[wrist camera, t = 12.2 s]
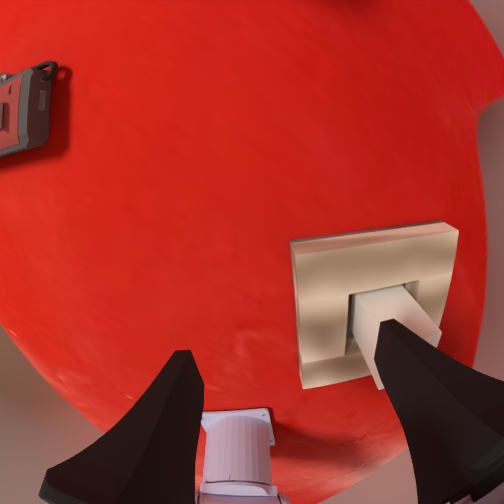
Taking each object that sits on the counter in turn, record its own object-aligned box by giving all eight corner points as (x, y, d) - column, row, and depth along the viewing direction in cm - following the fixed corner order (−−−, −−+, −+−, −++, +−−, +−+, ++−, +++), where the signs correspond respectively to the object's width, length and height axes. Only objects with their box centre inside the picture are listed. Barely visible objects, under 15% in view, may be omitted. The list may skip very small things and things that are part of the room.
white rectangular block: (391, 319, 22) (426, 373, 15) (350, 328, 22) (378, 389, 15) (396, 279, 20) (442, 332, 14) (352, 288, 20) (389, 349, 14)
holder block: (418, 341, 24) (429, 356, 21) (298, 369, 24) (303, 389, 22) (440, 220, 19) (458, 230, 16) (289, 240, 19) (295, 255, 17)
